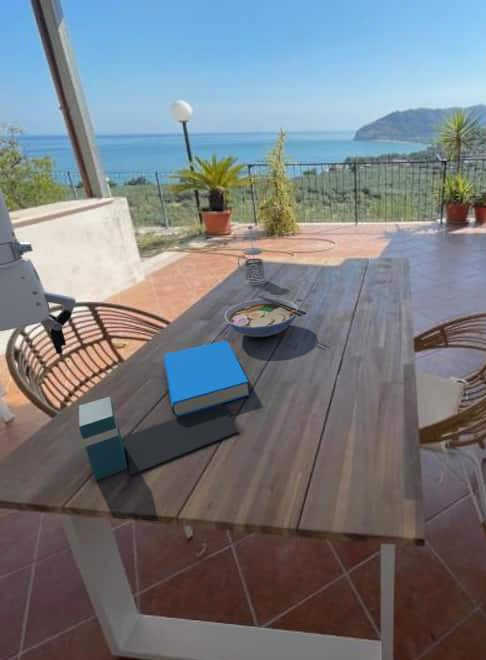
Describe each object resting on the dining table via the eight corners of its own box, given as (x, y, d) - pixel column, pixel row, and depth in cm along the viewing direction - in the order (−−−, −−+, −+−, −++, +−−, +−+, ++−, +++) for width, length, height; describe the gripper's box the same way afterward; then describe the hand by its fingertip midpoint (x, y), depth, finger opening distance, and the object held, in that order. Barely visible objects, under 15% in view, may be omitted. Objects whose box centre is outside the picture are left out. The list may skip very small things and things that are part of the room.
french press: (266, 284, 169) (261, 227, 161) (239, 286, 167) (232, 228, 159) (267, 277, 178) (262, 223, 170) (241, 279, 176) (235, 224, 168)
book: (226, 339, 113) (249, 379, 92) (228, 353, 114) (251, 394, 94) (161, 354, 105) (170, 401, 84) (164, 368, 106) (173, 418, 86)
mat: (130, 476, 71) (130, 474, 71) (124, 438, 80) (123, 436, 80) (238, 432, 82) (238, 431, 82) (221, 403, 91) (221, 402, 91)
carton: (95, 480, 70) (78, 426, 66) (94, 456, 76) (78, 405, 71) (127, 468, 73) (113, 415, 69) (123, 446, 78) (110, 396, 74)
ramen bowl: (212, 331, 126) (208, 308, 124) (271, 311, 142) (269, 290, 139) (253, 358, 110) (250, 333, 107) (315, 332, 126) (314, 309, 123)
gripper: (60, 242, 64) (85, 335, 69) (-94, 259, 54) (-49, 366, 60) (61, 251, 58) (88, 352, 64) (-111, 272, 48) (-60, 389, 54)
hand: (22, 359), depth 62 cm, fingers open, 9 cm apart
